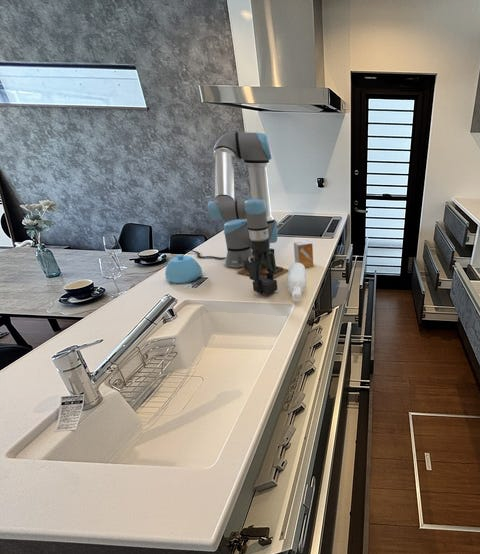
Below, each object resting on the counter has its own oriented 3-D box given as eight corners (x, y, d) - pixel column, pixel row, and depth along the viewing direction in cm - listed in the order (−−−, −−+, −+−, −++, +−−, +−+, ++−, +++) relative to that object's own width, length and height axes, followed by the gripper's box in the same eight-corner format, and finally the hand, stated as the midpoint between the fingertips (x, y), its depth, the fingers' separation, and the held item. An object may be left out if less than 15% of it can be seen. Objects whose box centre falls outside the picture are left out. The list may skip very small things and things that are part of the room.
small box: (299, 269, 159) (297, 245, 154) (295, 265, 164) (293, 242, 159) (313, 266, 163) (312, 243, 158) (309, 262, 168) (307, 240, 163)
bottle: (289, 277, 148) (287, 307, 122) (288, 262, 145) (285, 289, 118) (306, 276, 150) (307, 305, 123) (305, 261, 147) (306, 288, 120)
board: (237, 273, 152) (236, 262, 150) (258, 264, 164) (256, 254, 161) (269, 280, 144) (267, 270, 142) (288, 271, 156) (287, 261, 154)
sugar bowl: (159, 281, 141) (152, 257, 136) (187, 270, 154) (182, 248, 149) (183, 286, 136) (177, 262, 131) (210, 274, 149) (205, 252, 144)
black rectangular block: (253, 291, 131) (252, 281, 129) (263, 285, 136) (262, 276, 134) (268, 295, 128) (266, 285, 126) (277, 289, 133) (276, 279, 131)
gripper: (248, 246, 113) (256, 301, 123) (282, 234, 129) (286, 283, 138) (233, 243, 116) (242, 297, 125) (268, 232, 132) (273, 280, 141)
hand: (265, 289), depth 132 cm, fingers closed on black rectangular block, 6 cm apart
